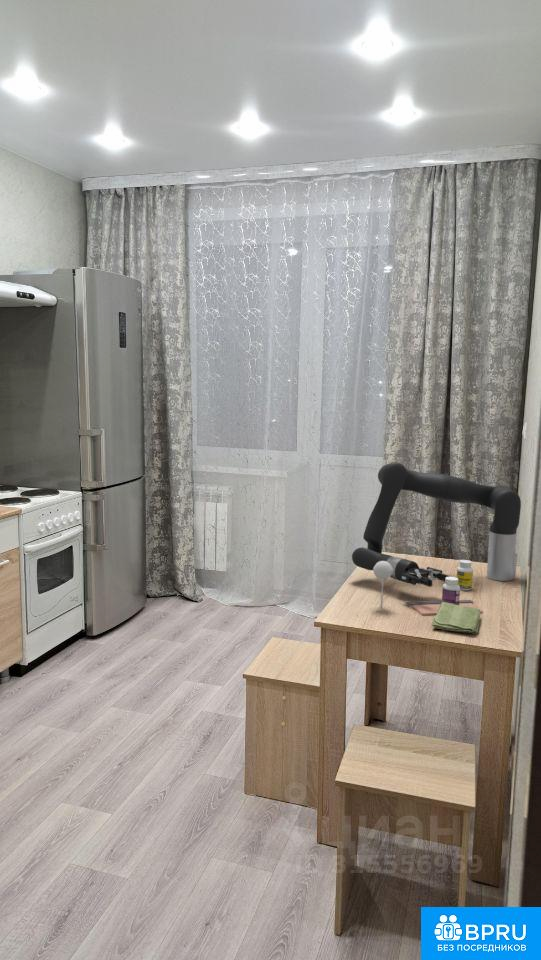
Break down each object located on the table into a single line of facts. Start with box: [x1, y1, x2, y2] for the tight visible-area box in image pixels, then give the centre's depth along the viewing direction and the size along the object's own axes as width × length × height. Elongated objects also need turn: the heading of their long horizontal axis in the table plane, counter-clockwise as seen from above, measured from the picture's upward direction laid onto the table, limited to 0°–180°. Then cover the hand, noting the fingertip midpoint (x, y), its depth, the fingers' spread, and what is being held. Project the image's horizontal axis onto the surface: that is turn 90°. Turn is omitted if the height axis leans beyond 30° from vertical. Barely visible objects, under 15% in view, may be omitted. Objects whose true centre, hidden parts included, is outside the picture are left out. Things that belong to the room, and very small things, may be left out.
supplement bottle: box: [456, 559, 474, 591], centre depth 238 cm, size 5×5×10 cm
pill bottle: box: [441, 576, 461, 605], centre depth 216 cm, size 5×5×10 cm
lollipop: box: [372, 561, 393, 608], centre depth 217 cm, size 6×6×15 cm
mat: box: [406, 599, 484, 616], centre depth 218 cm, size 22×11×1 cm, turn 99°
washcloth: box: [431, 602, 481, 635], centre depth 204 cm, size 13×18×3 cm
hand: (440, 581), depth 219 cm, fingers open, 8 cm apart
